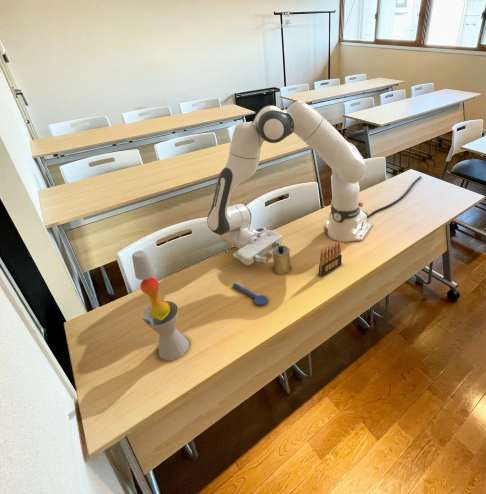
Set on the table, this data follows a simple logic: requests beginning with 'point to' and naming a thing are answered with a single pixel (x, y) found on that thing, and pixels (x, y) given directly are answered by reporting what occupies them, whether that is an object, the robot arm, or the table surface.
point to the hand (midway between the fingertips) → (275, 254)
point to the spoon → (253, 295)
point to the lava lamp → (159, 310)
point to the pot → (281, 259)
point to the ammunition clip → (330, 258)
